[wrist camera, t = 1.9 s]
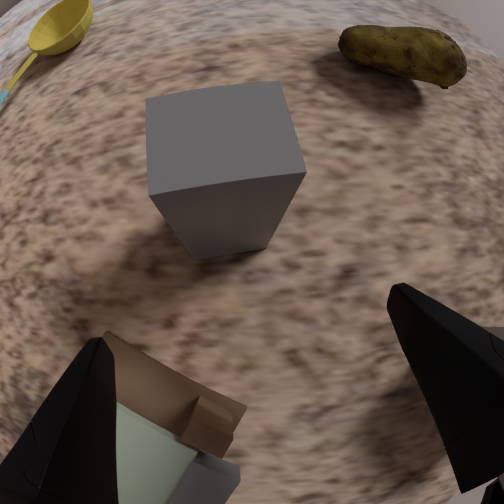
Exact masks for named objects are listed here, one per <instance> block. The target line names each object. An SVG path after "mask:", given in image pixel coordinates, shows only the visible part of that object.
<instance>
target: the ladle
mask: <svg viewBox="0 0 504 504" xmlns="http://www.w3.org/2000/svg"><path fill="white" fill-rule="evenodd" d="M92 16H93V7H92V5H91V2H90V0H63V1H61V2H59V3H58V4H56V5H55V6H53V7H52V8H51V9H50V10H48V11H47V12H46V13H45V14H44V15H43V16H42V17H41V18H40V19H39V20H38V22H37V23H36V25H35V26H34V28H33V29H32V31H31V34H30V36H29V41H28V46H29V48H30V49H31V50H33V51H34V52H33V54H32V55H31V56H30V57H29V58H28V59H27V61H26V62H25V63H24V64H23V66H22V67H21V68H20V69H19V71H18V72H17V73H16V74H15V76H14V77H13V78H12V80H11V81H10V82H9V84H8V85H7V87H6V88H5V89H4V90H3V92H2V93H1V94H0V106H1V104H2V103H3V101H4V100H5V98H6V97H7V95H8V94H9V92H10V90H11V89H12V88H13V86H14V85H15V84H16V82H17V81H18V80H19V78H20V77H21V76H22V74H23V73H24V72H25V70H26V69H27V68H28V67H29V65H30V64H31V63H32V62H33V61H34V59H35V58H36V57H37V56H38V55H39V54H40V55H57V54H60V53H62V52H65V51H67V50H69V49H71V48H73V47H74V46H75V45H76V44H78V43H79V42H80V41H81V40H82V39H83V37H84V36H85V34H86V33H87V31H88V29H89V28H90V25H91V22H92Z"/></svg>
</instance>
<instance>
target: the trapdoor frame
mask: <svg viewBox="0 0 504 504" xmlns="http://www.w3.org/2000/svg"><path fill="white" fill-rule="evenodd" d="M103 339H104V340H105V342H106V343H107V345H108V346H109V348H110V350H111V351H112V353H113V355H114V359H115V381H116V397H117V402H118V403H120V404H122V405H123V406H125V407H126V408H128V409H130V410H131V411H133V412H135V413H136V414H138V415H140V416H142V417H143V418H145V419H147V420H149V421H150V422H152V423H154V424H156V425H158V426H160V427H161V428H163V429H165V430H167V431H169V432H171V433H173V434H175V435H177V436H179V437H181V439H180V440H181V441H183V442H185V443H187V444H189V445H191V446H193V447H195V448H198V449H199V450H201V451H203V452H205V453H207V454H210V455H212V456H214V457H217V458H221V459H222V457H223V456H224V454H225V453H226V451H227V449H228V448H229V446H230V444H231V443H232V441H233V432H234V430H235V429H236V427H237V425H238V423H239V422H240V420H241V418H242V416H243V415H244V413H245V411H246V409H247V406H245V405H243V404H241V403H239V402H236V401H234V400H232V399H230V398H228V397H226V396H223V395H221V394H219V393H217V392H215V391H213V390H211V389H209V388H207V387H205V386H203V385H201V384H199V383H197V382H195V381H193V380H191V379H189V378H187V377H185V376H183V375H182V374H180V373H178V372H176V371H174V370H172V369H171V368H169V367H167V366H165V365H163V364H162V363H160V362H158V361H156V360H155V359H153V358H151V357H150V356H148V355H146V354H144V353H143V352H141V351H139V350H138V349H136V348H135V347H133V346H131V345H130V344H128V343H127V342H125V341H123V340H122V339H120V338H119V337H117V336H116V335H114V334H112V333H111V332H109V331H106V332H105V334H104V336H103Z"/></svg>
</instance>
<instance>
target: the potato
mask: <svg viewBox="0 0 504 504" xmlns="http://www.w3.org/2000/svg"><path fill="white" fill-rule="evenodd" d="M338 47H339V49H340V51H341V52H342V53H343V54H344V56H346V57H347V58H348V59H350V60H351V61H353V62H355V63H356V64H359V65H363V66H368V65H370V66H372V67H374V68H376V69H379V70H381V71H383V72H386V73H388V74H392V75H395V76H399V77H403V78H407V79H414V80H419V81H424V82H428V83H432V84H435V85H438V86H440V87H441V88H442V89H448V87H449V86H452V85H454V84H456V83H457V82H458V81H460V80H461V79H462V78H463V77H464V76H465V74H466V71H467V62H466V58H465V56H464V54H463V52H462V50H461V49H460V47H459V46H458V45H457V44H456V42H455V41H454V40H453V39H452V38H451V37H450V36H448V35H447V34H445V33H443V32H441V31H439V30H433V29H428V28H422V27H384V26H377V25H357V26H353V27H349V28H346V29H345V30H344V31H343V32H342V34H341V36H340V40H339V42H338Z"/></svg>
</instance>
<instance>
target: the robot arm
mask: <svg viewBox="0 0 504 504" xmlns="http://www.w3.org/2000/svg"><path fill="white" fill-rule="evenodd" d="M387 311H388V313H389V316H390V318H391V321H392V324H393V326H394V329H395V331H396V334H397V337H398V340H399V342H400V345H401V347H402V350H403V352H404V354H405V356H406V358H407V360H408V362H409V364H410V367H411V369H412V371H413V373H414V375H415V377H416V379H417V382H418V384H419V386H420V388H421V390H422V393H423V395H424V397H425V399H426V402H427V404H428V406H429V409H430V411H431V413H432V416H433V418H434V421H435V423H436V426H437V428H438V431H439V433H440V436H441V438H442V441H443V443H444V446H445V447H446V448H445V449H446V452H447V454H448V457H449V460H450V463H451V465H452V468H453V471H454V474H455V477H456V480H457V483H458V486H459V489H460V491H461V494H463V493H465V492H467V491H470V490H471V489H474V488H476V487H478V486H480V485H482V484H484V483H486V482H488V481H490V480H492V479H494V478H496V477H497V479H496V480H495V481H493V482H492V483H491V484H490V485H488V486H487V487H486V490H485V493H484V496H483V499H482V502H481V504H504V340H502V339H500V338H499V337H497V336H495V335H494V334H492V333H491V332H488V331H487V330H485V329H484V328H482V327H481V326H479V325H477V324H476V323H474V322H472V321H470V320H469V319H467V318H465V317H464V316H462V315H460V314H459V313H457V312H455V311H453V310H452V309H450V308H448V307H447V306H445V305H443V304H441V303H440V302H438V301H436V300H434V299H433V298H431V297H429V296H427V295H425V294H424V293H422V292H420V291H418V290H416V289H415V288H413V287H411V286H409V285H407V284H406V283H399V284H395V285H393V286H392V287H391V290H390V294H389V297H388V301H387ZM116 418H117V397H116V381H115V359H114V355H113V353H112V351H111V350H110V348H109V346H108V345H107V343H106V342H105V340H104V339H103V338H102V337H96V338H90V339H89V340H88V341H87V342H86V344H85V345H84V346H83V348H82V349H81V350H80V352H79V353H78V354H77V356H76V357H75V358H74V360H73V361H72V362H71V364H70V365H69V366H68V368H67V369H66V371H65V372H64V373H63V375H62V376H61V378H60V379H59V380H58V382H57V383H56V385H55V386H54V387H53V389H52V390H51V392H50V393H49V395H48V396H47V397H46V399H45V400H44V402H43V403H42V405H41V406H40V408H39V409H38V411H37V412H36V414H35V415H34V417H33V418H32V420H31V422H30V423H29V424H28V426H27V427H26V429H25V430H24V432H23V433H22V435H21V436H20V438H19V439H18V441H17V442H16V444H15V445H14V446H13V448H12V449H11V451H10V452H9V453H8V455H7V456H6V457H5V459H4V460H3V461H2V463H1V464H0V504H119V500H118V485H117V460H116Z"/></svg>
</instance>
